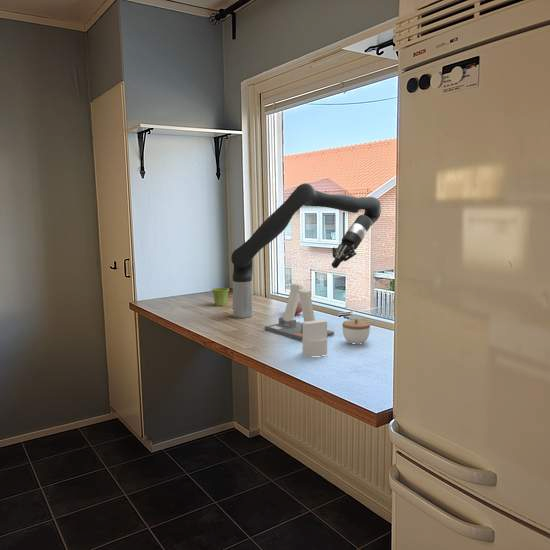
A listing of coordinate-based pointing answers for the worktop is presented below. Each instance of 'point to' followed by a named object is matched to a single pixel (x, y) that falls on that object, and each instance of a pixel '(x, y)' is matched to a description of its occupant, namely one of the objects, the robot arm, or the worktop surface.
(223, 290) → the plant pot
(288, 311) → the lever unmarked
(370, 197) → the robot arm
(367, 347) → the worktop surface
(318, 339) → the white rectangular block
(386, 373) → the worktop surface
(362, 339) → the lidded jar
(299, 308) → the decorative fruit
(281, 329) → the switch base
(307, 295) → the lever marked
